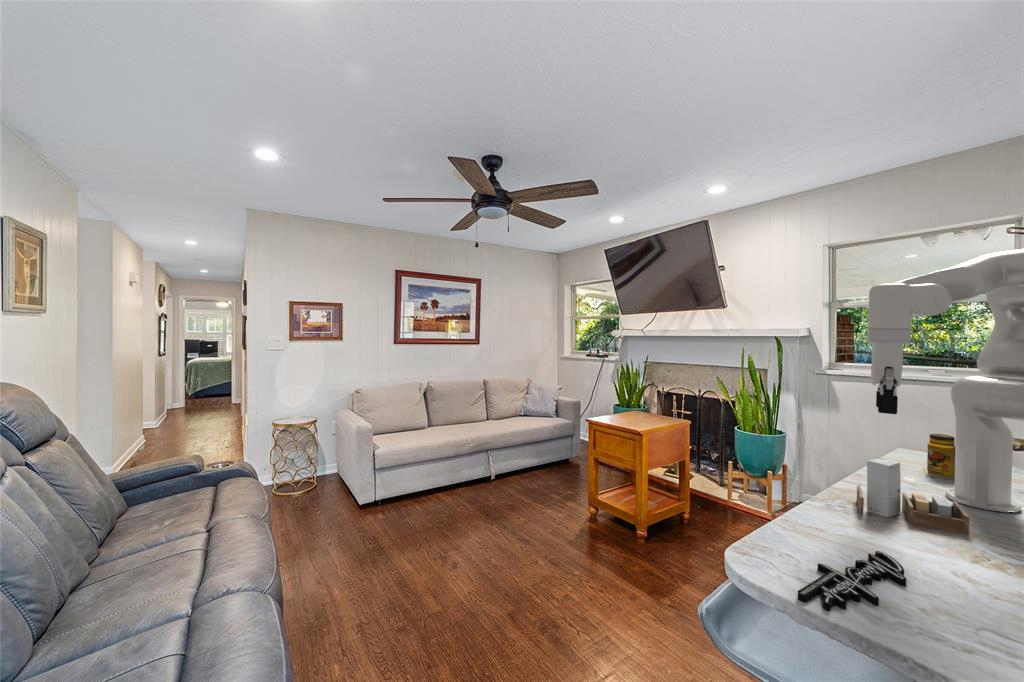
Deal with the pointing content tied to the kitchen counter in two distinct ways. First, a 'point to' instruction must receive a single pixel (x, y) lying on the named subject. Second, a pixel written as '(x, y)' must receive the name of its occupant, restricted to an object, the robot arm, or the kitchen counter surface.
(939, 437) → the condiment
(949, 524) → the walnut rack
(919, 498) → the oak offcut
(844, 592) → the nameplate
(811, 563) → the kitchen counter surface
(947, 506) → the slate offcut
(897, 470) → the skincare box
